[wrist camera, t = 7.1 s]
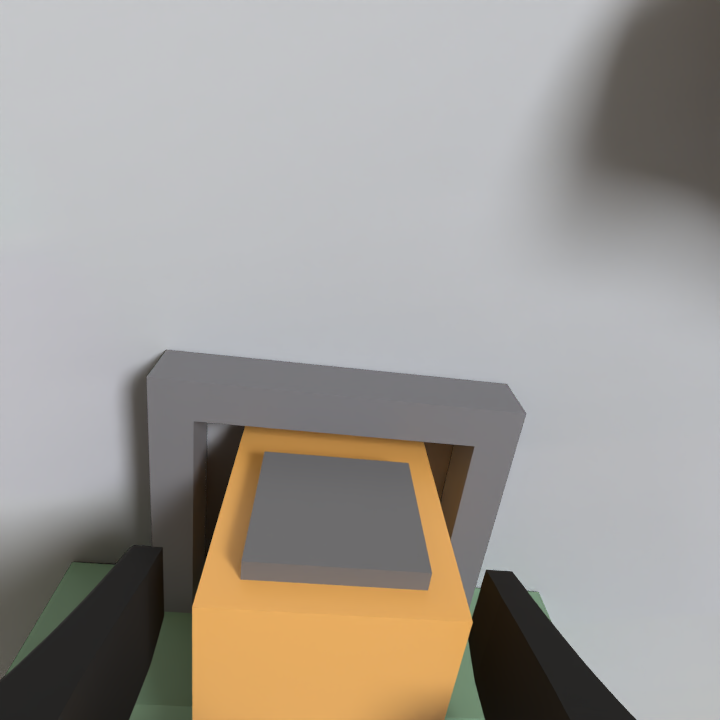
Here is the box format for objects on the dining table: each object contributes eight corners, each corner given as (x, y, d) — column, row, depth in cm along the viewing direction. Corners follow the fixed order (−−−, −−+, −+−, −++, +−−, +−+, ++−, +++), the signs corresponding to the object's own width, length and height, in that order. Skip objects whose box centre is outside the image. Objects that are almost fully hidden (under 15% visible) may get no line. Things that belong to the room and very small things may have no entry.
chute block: (394, 558, 16) (425, 785, 11) (242, 548, 16) (192, 778, 10) (422, 416, 14) (477, 604, 9) (249, 400, 14) (191, 588, 8)
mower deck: (482, 749, 20) (537, 987, 15) (91, 735, 19) (-9, 991, 13) (609, 394, 14) (786, 571, 8) (47, 337, 13) (-171, 502, 7)
